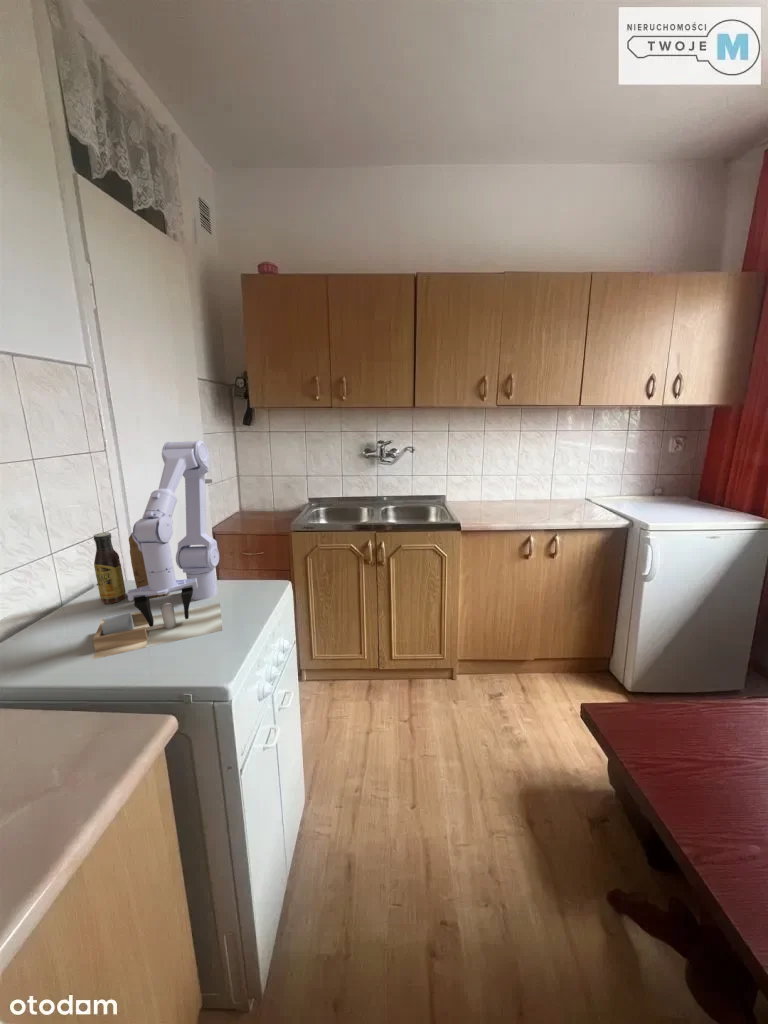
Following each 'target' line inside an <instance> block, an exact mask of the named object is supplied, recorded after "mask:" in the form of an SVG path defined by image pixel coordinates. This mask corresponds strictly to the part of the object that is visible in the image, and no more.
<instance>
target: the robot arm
mask: <svg viewBox="0 0 768 1024" xmlns="http://www.w3.org/2000/svg"><path fill="white" fill-rule="evenodd" d="M161 450H162V451H161V458H162V461H163V469H162V474H161V478H160V482H159V486H158V489H157V490H154V491H152V492H151V493H150V497H149V499H148V502H147V504H146V507H145V509H144V512H143V515H142V517H141V518H139V520H137V521H136V522H134V524H133V527H132V532H133V534H132V537H133V539H134V541H135V542H136V543H137V545H138V548H139V550H140V551H141V552H142V554H143V559H144V564H145V569H146V574H147V579H148V584H149V585H147V586H144V587H140V588H137V587H136V588H133V589H128V591H127V594H126V596H127V599H128V601H129V602H130V601H134V603H133V604H134V607H135V608H136V609H137V610H138V611H139V612H141V613H142V614H143V615H144V617H145V618H146V620H147V622H148V624H149V626H150V627H151V626H153V623H154V620H153V616H154V615H153V612H152V608H151V603H150V599H149V596H153V595H163V594H166V593H169V594H170V593H173V592H180V591H181V594H180V597H181V600H182V606H183V610H184V614H185V619H188V618H189V612H188V610H189V609H190V603H191V600H194V601H202V600H206V599H210V598H213V597H214V596H216V595H217V594H218V586H217V585H218V584H217V580H216V574H215V568H216V567H217V566H218V564H219V561H220V552H219V549H218V543H217V542H218V541H217V540H216V539H215V538H213V537H211V536H210V535H208V533H207V509H206V507H207V506H206V474H207V473H209V472H210V453H209V449H208V447H207V445H206V443H205V442H204V441H203V440H202V439H200V440H191V441H189V440H188V441H187V440H186V441H166V442H164V445H163V447H162V449H161ZM182 477H183V478H184V484H185V486H184V487H185V488H184V489H185V529H186V530H185V534H186V535H185V536H184V537H183V538H182V539H180V540H179V541H178V543H177V551H176V553H175V562H176V565H177V567H178V568H179V569H180V570H182V572H183V573H185V576H186V579H177V578H176V573H175V569H174V563H173V557H172V551H171V550H172V549H171V547H170V540H171V538H172V536H173V531H174V529H173V524H174V522H173V521H174V520H173V518H172V517H173V514H174V511H175V508H176V506H177V502H178V498H177V496H176V495H175V493H176V490H177V488H178V486H179V484H180V482H181V479H182Z"/></svg>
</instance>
